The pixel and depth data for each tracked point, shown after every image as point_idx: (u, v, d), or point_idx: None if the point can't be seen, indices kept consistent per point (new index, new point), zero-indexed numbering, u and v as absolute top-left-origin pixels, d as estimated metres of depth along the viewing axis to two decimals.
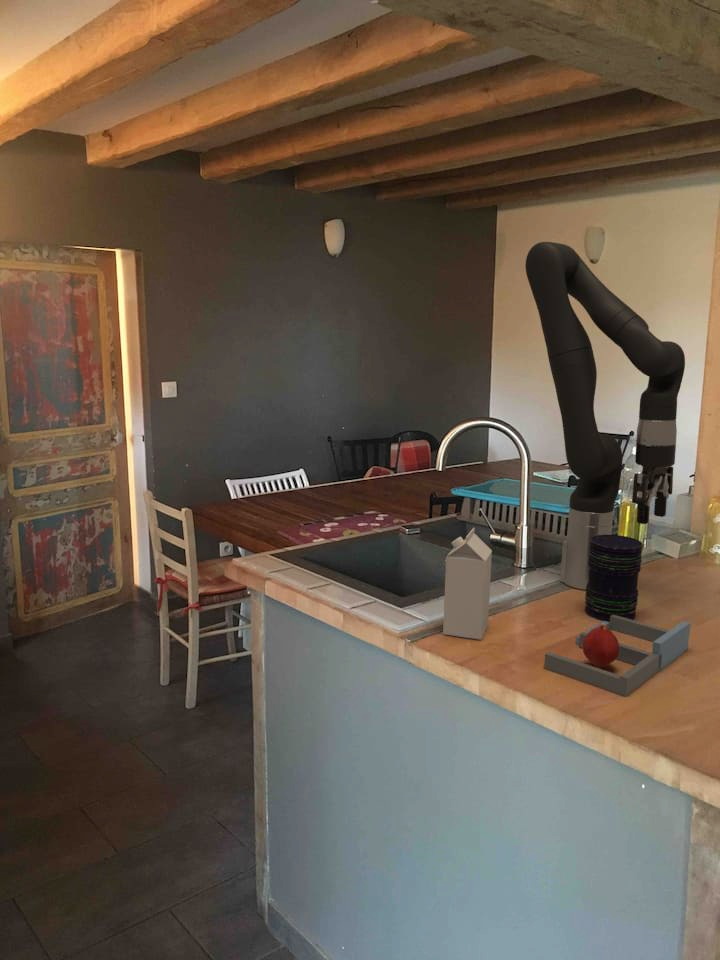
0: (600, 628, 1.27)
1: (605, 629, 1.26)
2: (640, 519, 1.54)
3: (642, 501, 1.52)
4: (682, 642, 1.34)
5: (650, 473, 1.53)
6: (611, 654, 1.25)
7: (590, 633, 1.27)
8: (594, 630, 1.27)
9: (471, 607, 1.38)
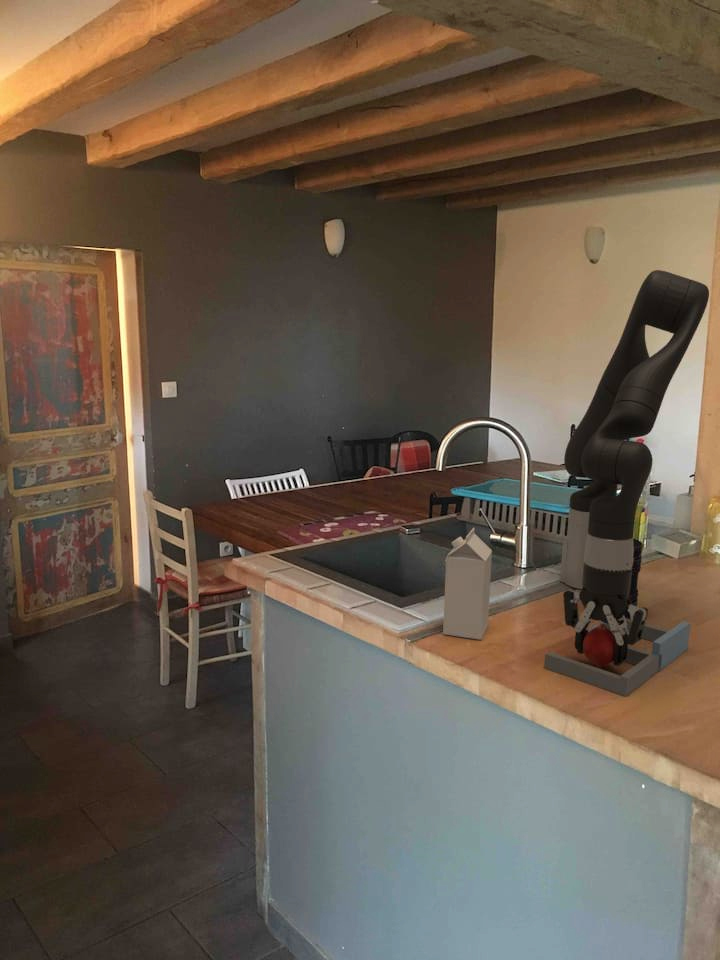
0: (600, 628, 1.27)
1: (605, 629, 1.26)
2: (623, 660, 1.25)
3: (639, 639, 1.24)
4: (682, 642, 1.34)
5: None
6: (611, 654, 1.25)
7: (590, 633, 1.27)
8: (594, 630, 1.27)
9: (471, 607, 1.38)
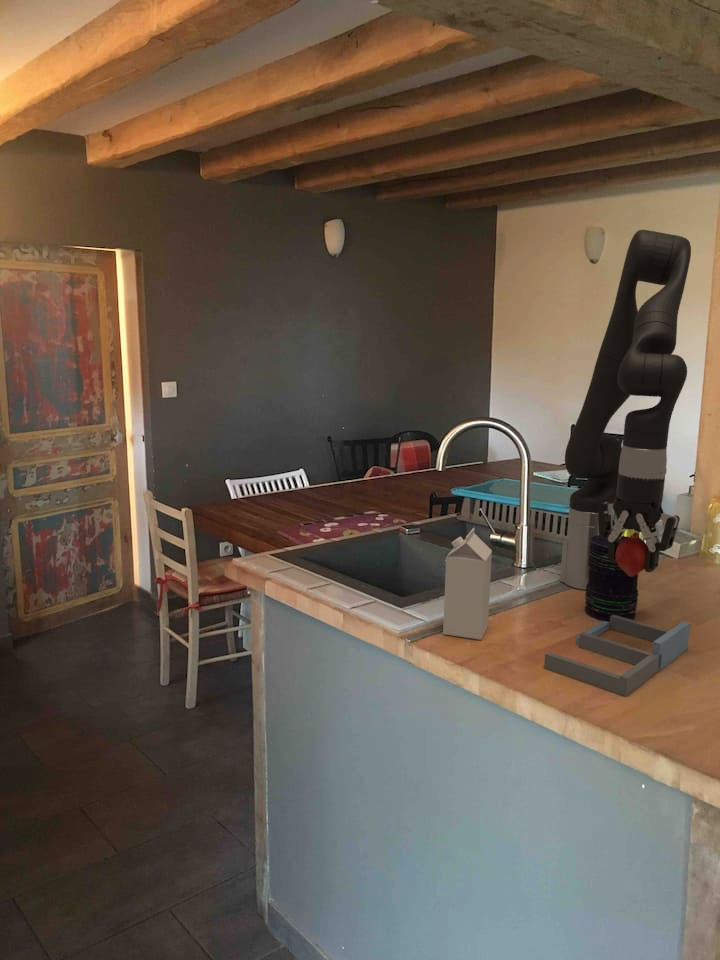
0: (633, 537, 1.33)
1: (637, 538, 1.32)
2: (655, 567, 1.31)
3: (671, 546, 1.30)
4: (682, 642, 1.34)
5: None
6: (643, 561, 1.31)
7: (623, 542, 1.33)
8: (627, 539, 1.33)
9: (471, 607, 1.38)
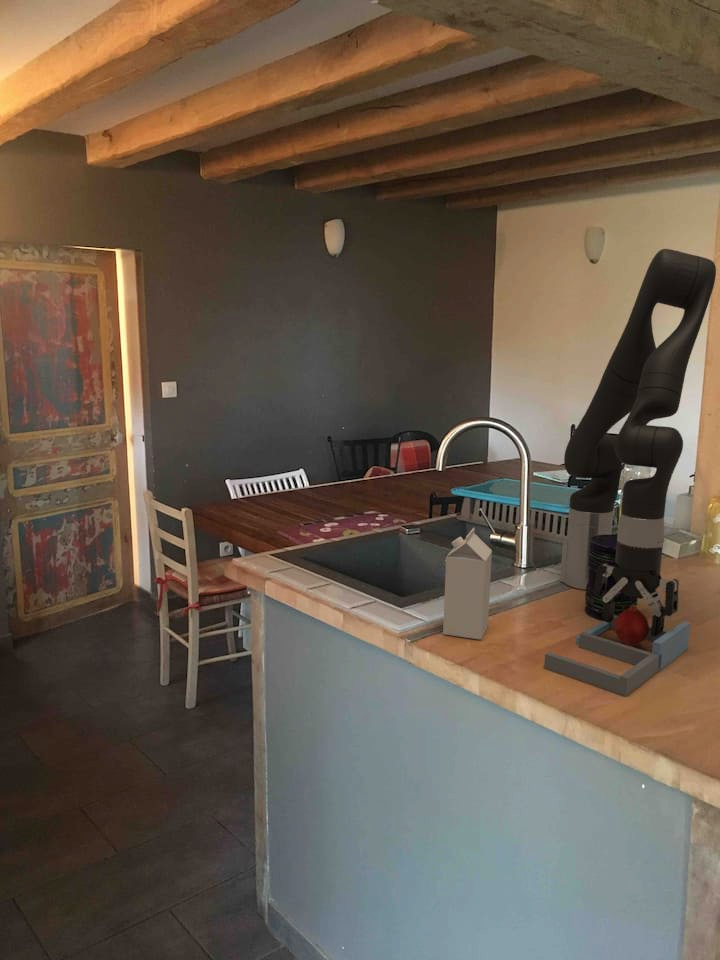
0: (631, 609, 1.35)
1: (636, 610, 1.35)
2: (660, 631, 1.33)
3: (676, 610, 1.31)
4: (682, 642, 1.34)
5: None
6: (641, 633, 1.34)
7: (622, 614, 1.36)
8: (625, 611, 1.36)
9: (471, 607, 1.38)
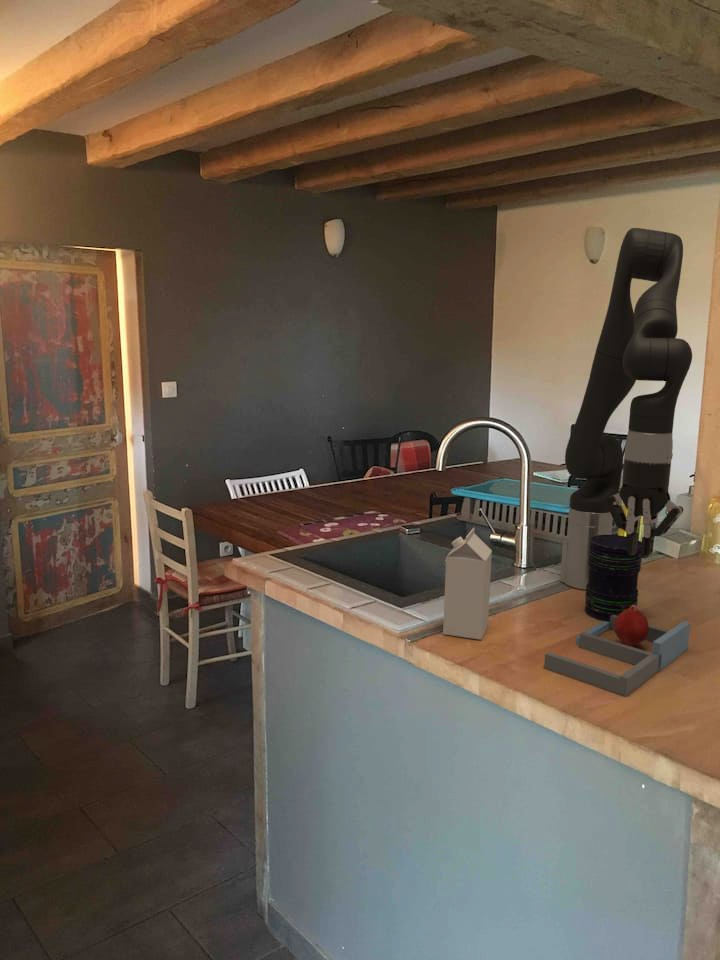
0: (631, 609, 1.35)
1: (636, 610, 1.35)
2: (650, 553, 1.32)
3: (665, 532, 1.31)
4: (682, 642, 1.34)
5: None
6: (641, 634, 1.34)
7: (621, 614, 1.36)
8: (625, 611, 1.36)
9: (471, 607, 1.38)
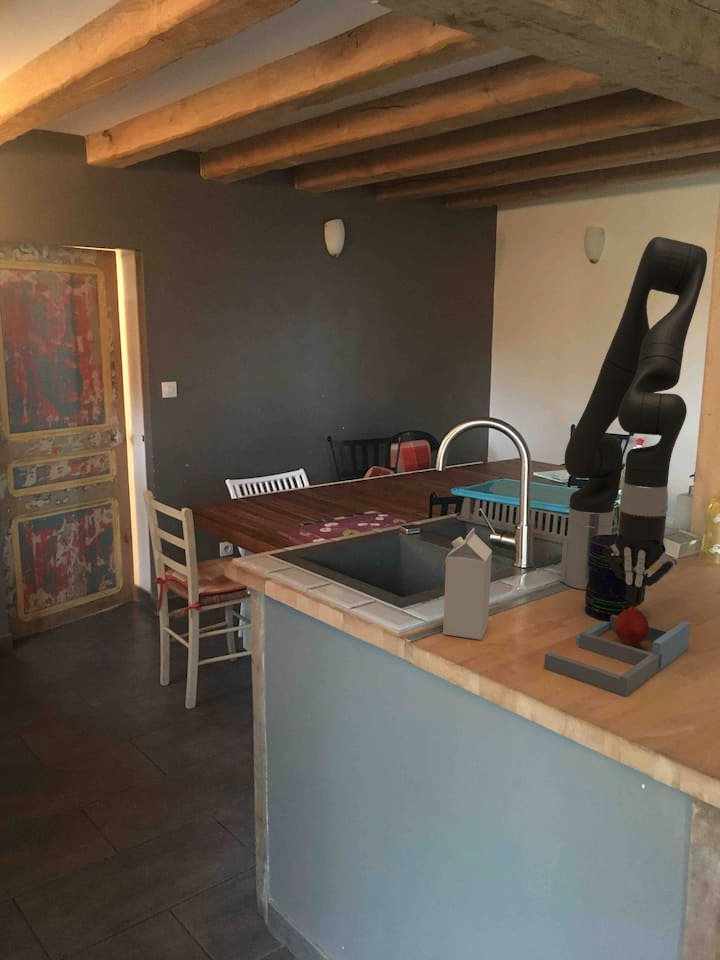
0: (631, 609, 1.35)
1: (636, 610, 1.35)
2: (641, 601, 1.34)
3: (656, 582, 1.33)
4: (682, 642, 1.34)
5: None
6: (641, 634, 1.34)
7: (622, 614, 1.36)
8: (625, 611, 1.36)
9: (471, 607, 1.38)
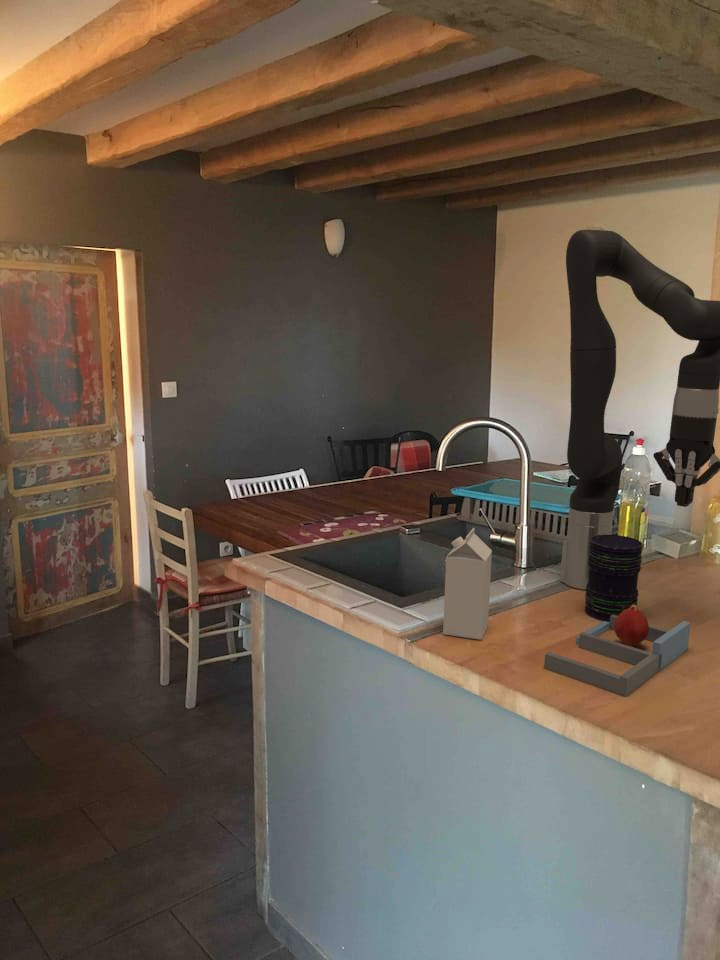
0: (631, 609, 1.35)
1: (636, 610, 1.35)
2: (690, 502, 1.42)
3: (704, 483, 1.41)
4: (682, 642, 1.34)
5: None
6: (641, 634, 1.34)
7: (622, 614, 1.36)
8: (625, 611, 1.36)
9: (471, 607, 1.38)
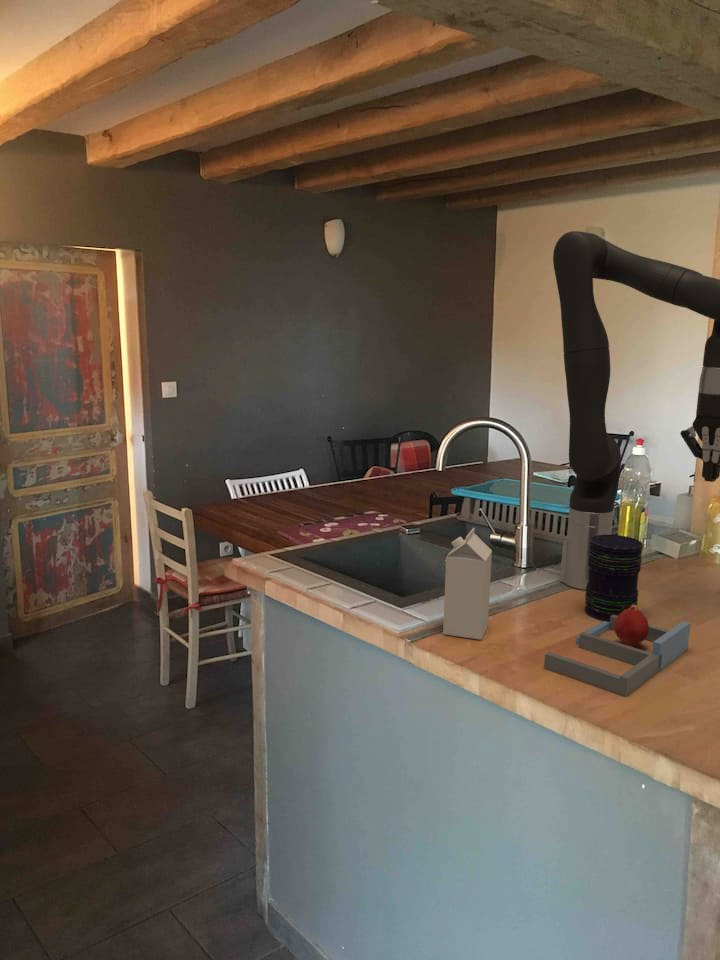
0: (631, 609, 1.35)
1: (636, 610, 1.35)
2: (717, 477, 1.48)
3: None
4: (682, 642, 1.34)
5: None
6: (641, 634, 1.34)
7: (622, 614, 1.36)
8: (625, 611, 1.36)
9: (471, 607, 1.38)
